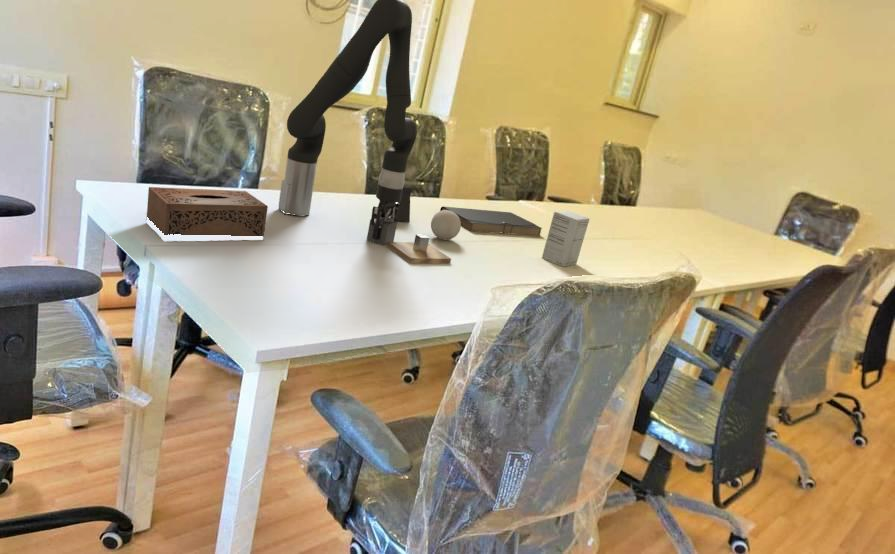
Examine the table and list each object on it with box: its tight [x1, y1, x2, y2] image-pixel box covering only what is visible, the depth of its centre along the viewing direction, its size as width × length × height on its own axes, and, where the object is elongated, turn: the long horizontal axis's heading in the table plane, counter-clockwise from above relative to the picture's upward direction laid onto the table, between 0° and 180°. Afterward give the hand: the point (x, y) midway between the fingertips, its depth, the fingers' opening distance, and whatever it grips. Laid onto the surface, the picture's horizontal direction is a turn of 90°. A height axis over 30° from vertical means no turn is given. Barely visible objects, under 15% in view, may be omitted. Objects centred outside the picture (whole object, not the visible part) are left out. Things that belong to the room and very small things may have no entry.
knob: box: [366, 217, 398, 246], centre depth 193 cm, size 6×6×8 cm
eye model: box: [430, 210, 462, 241], centre depth 211 cm, size 10×10×10 cm
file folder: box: [439, 205, 543, 237], centre depth 248 cm, size 33×4×24 cm
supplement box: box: [541, 210, 590, 268], centre depth 215 cm, size 10×9×17 cm
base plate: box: [387, 241, 452, 264], centre depth 189 cm, size 14×14×2 cm
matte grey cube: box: [413, 233, 430, 252], centre depth 188 cm, size 3×3×4 cm
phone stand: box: [396, 184, 412, 223], centre depth 224 cm, size 9×6×12 cm, turn 31°
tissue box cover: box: [146, 186, 269, 238], centre depth 166 cm, size 26×14×10 cm, turn 131°
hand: (381, 237), depth 194 cm, fingers open, 6 cm apart
